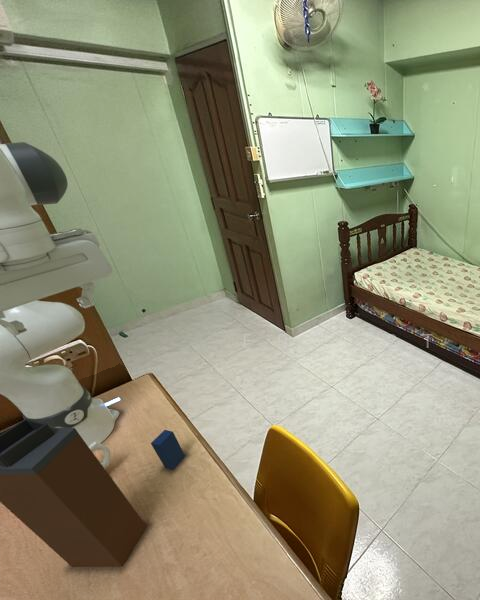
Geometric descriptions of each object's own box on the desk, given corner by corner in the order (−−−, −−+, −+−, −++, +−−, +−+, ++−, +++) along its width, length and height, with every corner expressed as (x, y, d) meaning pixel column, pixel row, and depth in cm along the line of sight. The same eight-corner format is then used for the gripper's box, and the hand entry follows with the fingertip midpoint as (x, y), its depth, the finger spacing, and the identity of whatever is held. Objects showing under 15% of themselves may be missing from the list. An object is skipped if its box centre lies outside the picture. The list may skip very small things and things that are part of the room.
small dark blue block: (164, 468, 80) (150, 443, 75) (177, 454, 84) (164, 429, 79) (173, 470, 80) (159, 445, 75) (185, 456, 83) (173, 431, 78)
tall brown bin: (71, 567, 62) (-49, 458, 45) (101, 526, 68) (5, 417, 51) (122, 566, 62) (21, 458, 45) (147, 526, 69) (67, 417, 52)
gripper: (80, 223, 57) (111, 290, 64) (-111, 261, 40) (-41, 346, 47) (101, 228, 55) (131, 296, 62) (-90, 269, 38) (-20, 357, 45)
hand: (56, 318), depth 54 cm, fingers open, 8 cm apart
